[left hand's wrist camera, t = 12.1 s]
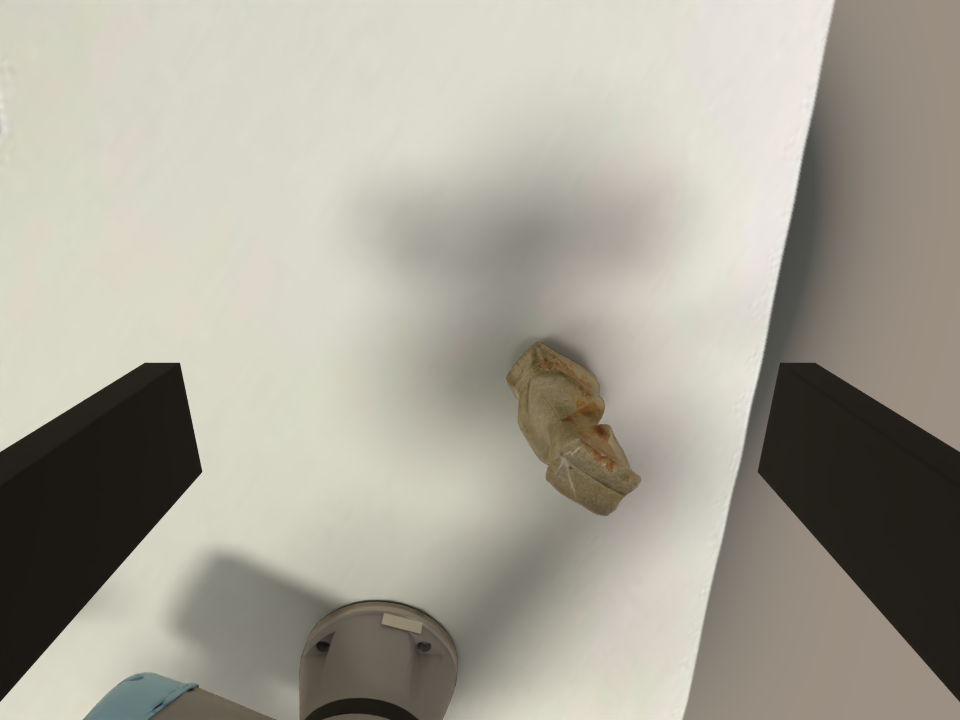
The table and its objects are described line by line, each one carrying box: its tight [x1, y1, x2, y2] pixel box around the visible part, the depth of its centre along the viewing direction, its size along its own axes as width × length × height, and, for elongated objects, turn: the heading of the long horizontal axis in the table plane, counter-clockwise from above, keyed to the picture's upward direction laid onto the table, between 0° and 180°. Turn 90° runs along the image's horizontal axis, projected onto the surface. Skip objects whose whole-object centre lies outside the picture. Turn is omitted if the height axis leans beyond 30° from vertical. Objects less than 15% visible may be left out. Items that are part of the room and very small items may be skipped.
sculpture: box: [506, 342, 641, 516], centre depth 37 cm, size 6×7×15 cm
